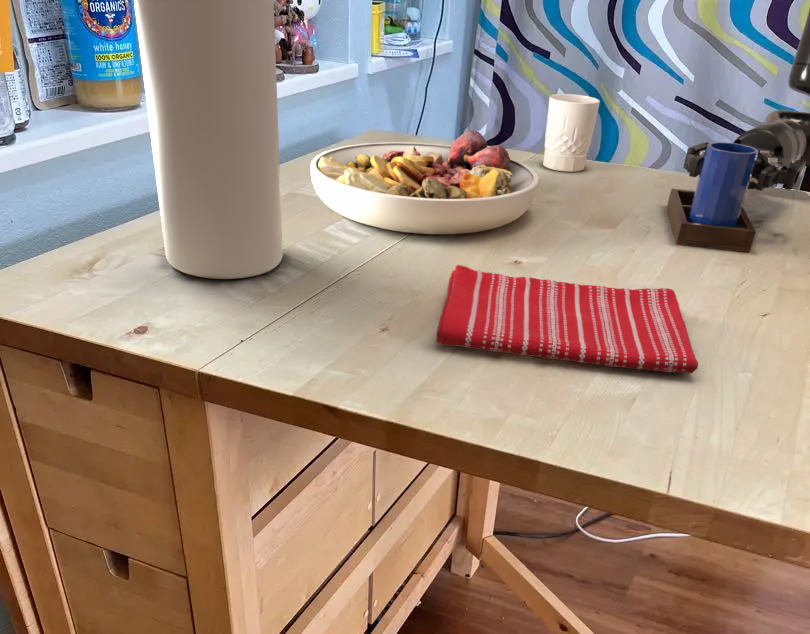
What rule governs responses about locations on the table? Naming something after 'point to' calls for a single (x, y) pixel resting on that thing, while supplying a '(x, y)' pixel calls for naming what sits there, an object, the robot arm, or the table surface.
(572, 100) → the white cup
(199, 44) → the cylinder vase
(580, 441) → the table surface
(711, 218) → the cup
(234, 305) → the table surface
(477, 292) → the dish towel
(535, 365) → the table surface
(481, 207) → the bowl
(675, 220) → the holder
